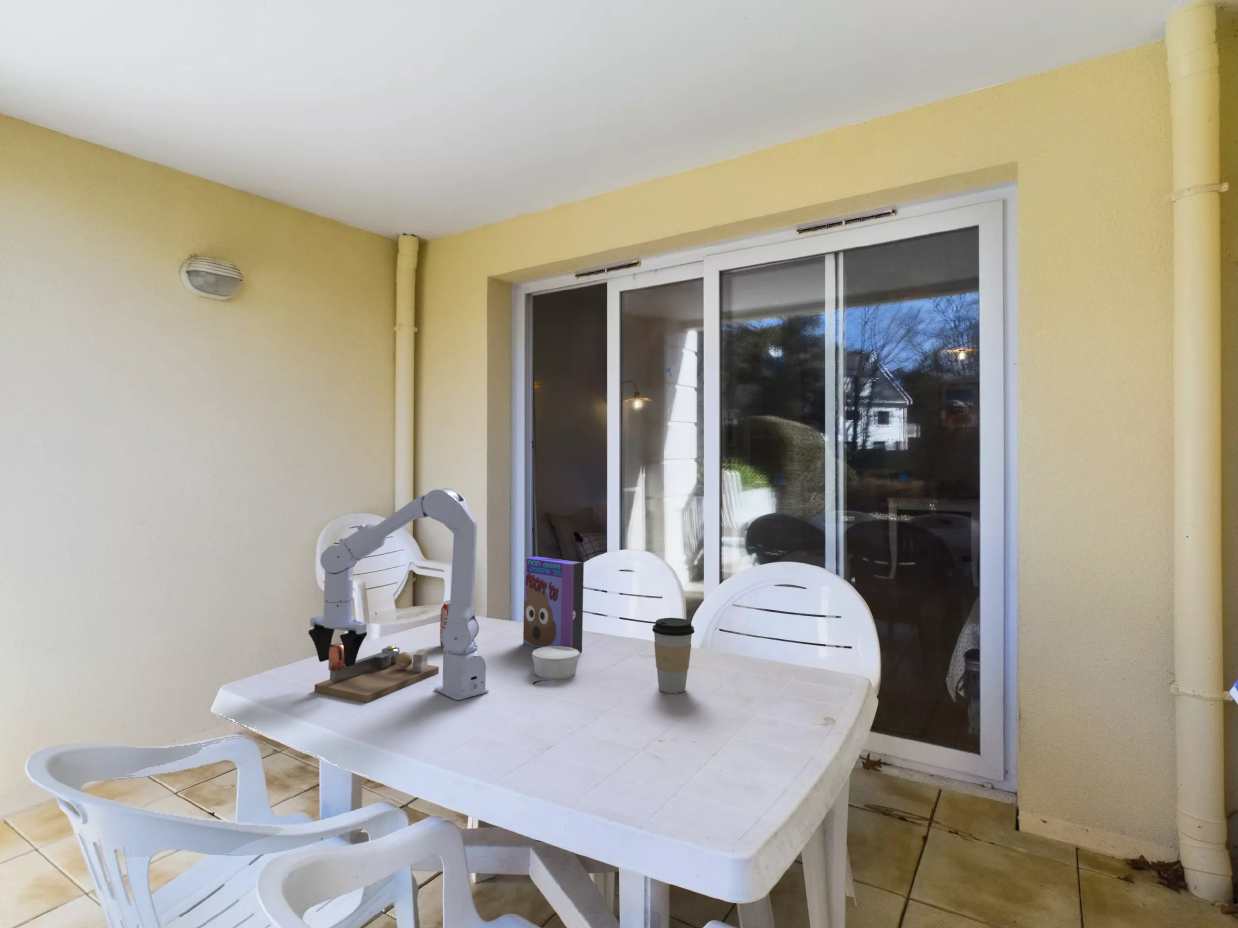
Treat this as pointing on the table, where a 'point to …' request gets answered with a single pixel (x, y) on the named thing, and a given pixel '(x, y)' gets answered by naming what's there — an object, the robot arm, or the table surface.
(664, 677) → the coffee cup
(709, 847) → the table surface
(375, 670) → the board
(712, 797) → the table surface
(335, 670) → the lever
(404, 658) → the walnut
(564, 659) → the ramekin
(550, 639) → the cereal box
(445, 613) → the soda can
